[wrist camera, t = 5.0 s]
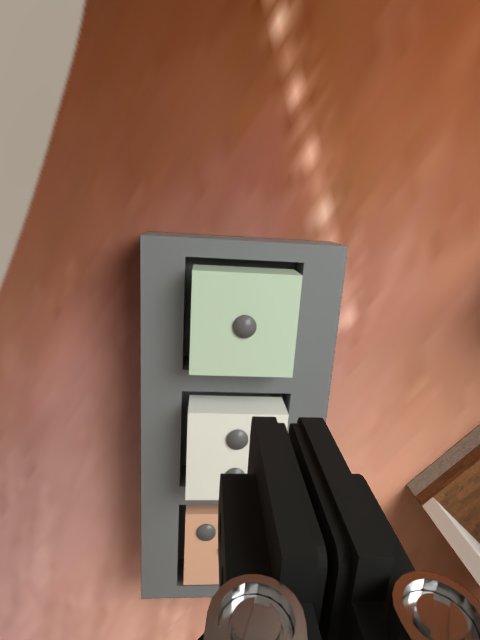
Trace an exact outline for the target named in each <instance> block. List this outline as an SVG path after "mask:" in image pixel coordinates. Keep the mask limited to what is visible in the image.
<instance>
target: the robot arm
mask: <svg viewBox="0 0 480 640" xmlns="http://www.w3.org/2000/svg"><path fill="white" fill-rule="evenodd" d="M218 560H219V589H218V590H217V592H216V593H215V595H214V596H213V597H212V600H211V603H210V606H209V609H208V612H207V619H206V625H205V632H204V634H203V635H202V636H201V637H200V638H199V639H198V640H480V602H479V601H478V600H477V599H476V598H475V597H474V596H473V595H472V594H471V593H470V592H469V591H468V590H466V589H465V588H464V587H462V586H461V585H459V584H458V583H456V582H455V581H453V580H451V579H449V578H446V577H444V576H442V575H440V574H436V573H432V572H428V571H415V569H414V567H413V565H412V563H411V562H410V560H409V558H408V556H407V554H406V553H405V551H404V549H403V547H402V545H401V543H400V542H399V540H398V538H397V536H396V534H395V533H394V531H393V529H392V527H391V525H390V524H389V522H388V520H387V518H386V516H385V514H384V513H383V511H382V509H381V507H380V505H379V504H378V502H377V500H376V498H375V496H374V495H373V493H372V491H371V489H370V487H369V485H368V484H367V482H366V480H365V479H364V477H363V476H362V475H360V474H352V473H351V472H350V470H349V468H348V466H347V464H346V462H345V460H344V458H343V456H342V454H341V452H340V450H339V448H338V446H337V444H336V442H335V440H334V438H333V437H332V435H331V433H330V431H329V429H328V427H327V425H326V423H325V421H324V419H323V418H321V417H299V418H298V420H297V423H291V424H290V426H289V432H287V429H286V426H285V423H278V422H277V419H276V417H258V416H253V417H252V420H251V431H250V444H249V457H248V470H247V474H221V475H220V486H219V505H218Z"/></svg>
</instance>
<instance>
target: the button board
mask: <svg viewBox="0 0 480 640" xmlns="http://www.w3.org/2000/svg"><path fill="white" fill-rule="evenodd" d="M347 252H348V246H345V245H341V244H337V243H333V242H327V241H310V240H292V239H274V238H257V237H239V236H221V235H204V234H186V233H168V232H150V231H149V232H146V233H144V234H141V235H140V281H141V599H152V598H195V597H213V596H214V595H215V593H216V592H217V590H218V589H219V584H210V585H183V582H184V549H185V516H186V505H219V500H185V492H186V458H187V425H188V406H189V396H190V395H212V396H259V397H282V399H283V402H284V404H285V407H286V409H287V412H288V414H289V417H288V427H287V432H289V426H290V424H291V423H297V420H298V418H299V417H321V418H323V419H324V421H325V423H326V417H327V409H328V401H329V393H330V385H331V377H332V370H333V362H334V354H335V346H336V338H337V330H338V322H339V315H340V307H341V299H342V291H343V283H344V275H345V267H346V260H347ZM194 264H198V265H218V266H238V267H258V268H278V269H294V270H296V271H297V272H298V273H300V274H301V275H303V278H302V288H301V298H300V308H299V318H298V328H297V338H296V348H295V358H294V368H293V377H292V378H288V377H249V376H209V375H189V358H190V324H191V291H192V269H193V265H194Z"/></svg>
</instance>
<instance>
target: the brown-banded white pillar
mask: <svg viewBox="0 0 480 640" xmlns="http://www.w3.org/2000/svg"><path fill="white" fill-rule="evenodd" d="M407 486H408V487H409V489H410V490H411V492H412V493H413V494H414V496H415V497H416V498H417V500H418V501H419V503H420V504H421V505H422V507H423V508H424V510H425V511H426V512H427V514H428V515H429V516H430V518H431V519H432V521H433V522H434V523H435V525H436V526H437V528H438V529H439V530H440V532H441V533H442V534H443V536H444V537H445V539H446V540H447V541H448V543H449V544H450V546H451V547H452V548H453V550H454V551H455V553H456V554H457V555H458V557H459V558H460V559H461V561H462V562H463V564H464V565H465V566H466V568H467V569H468V571H469V572H470V573H471V575H472V576H473V577H474V579H475V580H476V582H477V583H478V584H479V586H480V425H479V426H478V427H477V428H475V429H474V430H473V431H472V432H470V433H469V434H468V435H467V436H466V437H464V438H463V439H462V440H461V441H459V442H458V443H457V444H456V445H455V446H453V447H452V448H451V449H450V450H448V451H447V452H446V453H445V454H444V455H442V456H441V457H440V458H439V459H437V460H436V461H435V462H434V463H433V464H431V465H430V466H429V467H428V468H426V469H425V470H424V471H423V472H422V473H420V474H419V475H418V476H417V477H415V478H414V479H413V480H412V481H411V482H409V483H408V484H407Z"/></svg>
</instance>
